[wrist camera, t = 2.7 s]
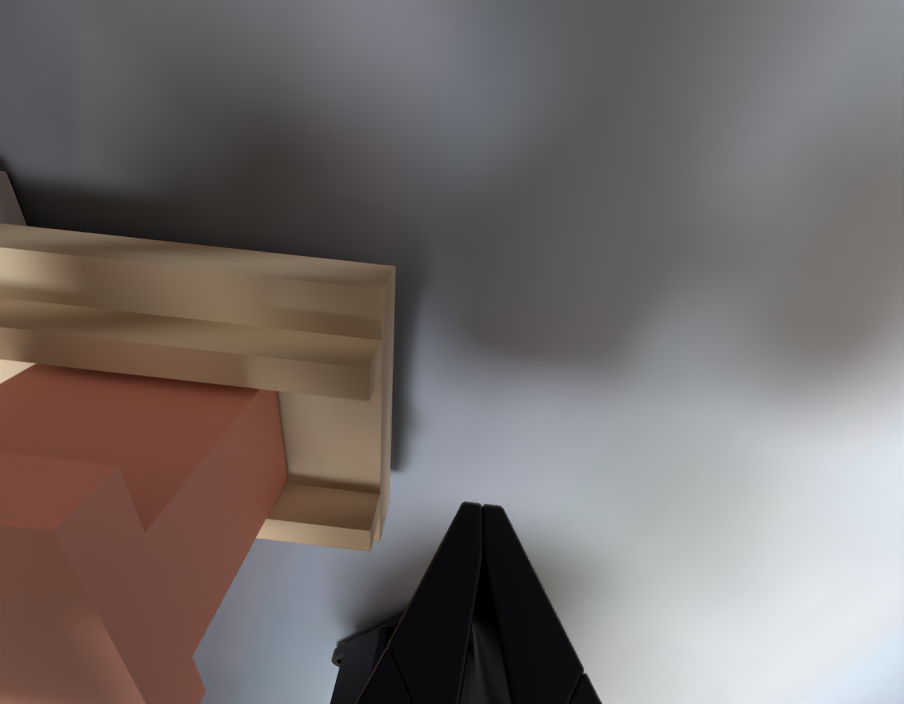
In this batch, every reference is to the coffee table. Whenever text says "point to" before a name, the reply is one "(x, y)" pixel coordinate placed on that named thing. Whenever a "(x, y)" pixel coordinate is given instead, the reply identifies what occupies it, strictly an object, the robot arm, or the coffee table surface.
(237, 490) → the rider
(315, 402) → the beam
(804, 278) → the coffee table surface
